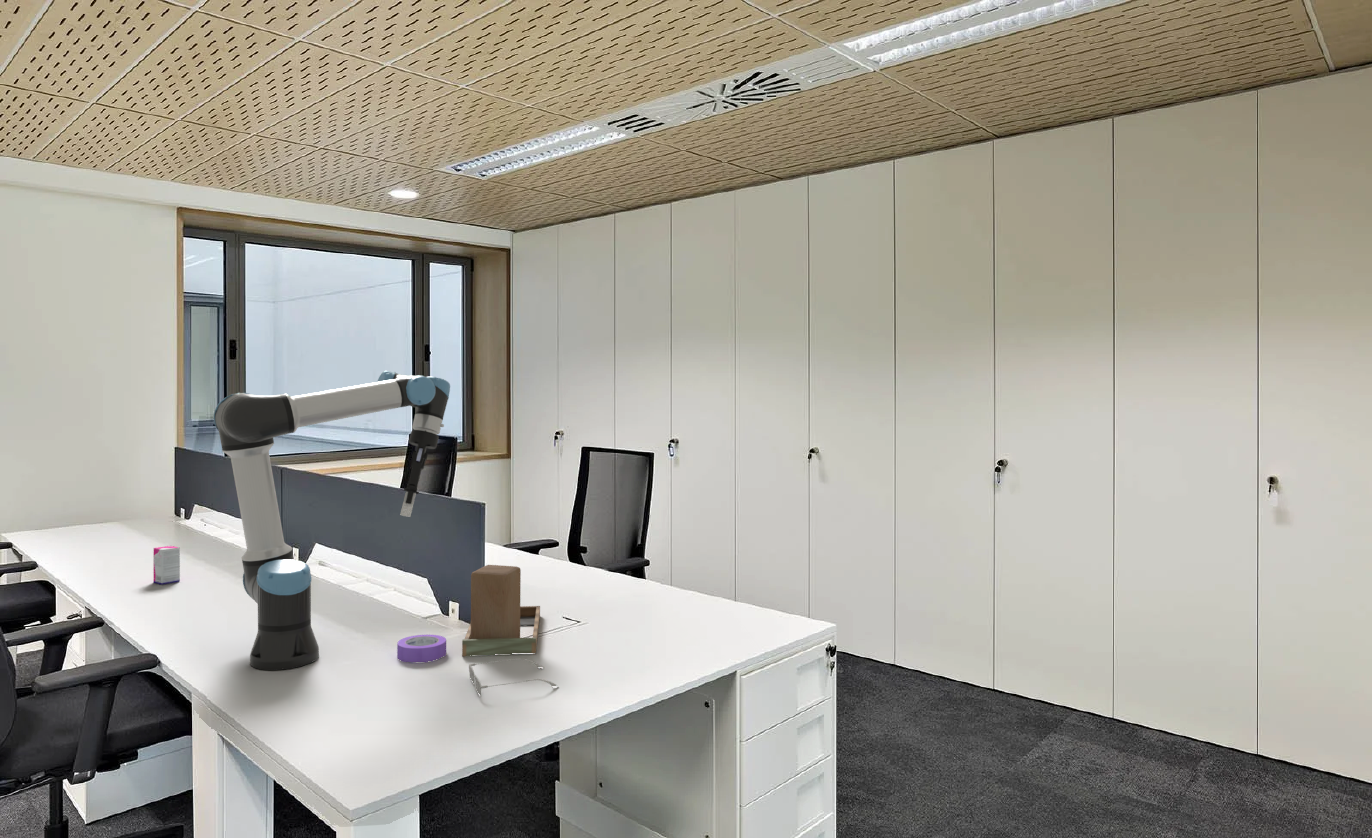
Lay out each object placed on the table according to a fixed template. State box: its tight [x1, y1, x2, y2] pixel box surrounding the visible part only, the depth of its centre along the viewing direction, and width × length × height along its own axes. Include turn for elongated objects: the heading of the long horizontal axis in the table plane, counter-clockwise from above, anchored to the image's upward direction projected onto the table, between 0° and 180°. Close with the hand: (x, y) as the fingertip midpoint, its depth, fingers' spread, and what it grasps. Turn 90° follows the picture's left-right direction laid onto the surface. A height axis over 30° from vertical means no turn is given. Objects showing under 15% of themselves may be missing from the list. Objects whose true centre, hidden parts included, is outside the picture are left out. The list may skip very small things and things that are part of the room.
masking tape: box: [396, 634, 447, 663], centre depth 213 cm, size 12×12×4 cm
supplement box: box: [153, 545, 181, 586], centre depth 280 cm, size 6×6×12 cm
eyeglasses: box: [468, 658, 557, 696], centre depth 195 cm, size 15×18×4 cm
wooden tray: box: [461, 605, 541, 657], centre depth 230 cm, size 34×18×4 cm, turn 8°
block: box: [470, 564, 522, 639], centre depth 221 cm, size 10×10×20 cm
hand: (405, 515), depth 232 cm, fingers closed
